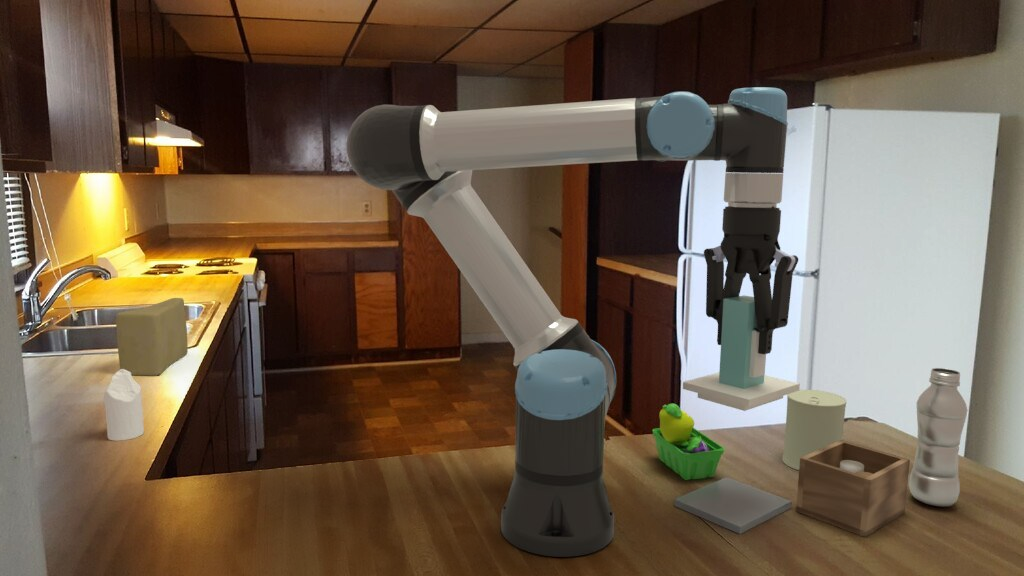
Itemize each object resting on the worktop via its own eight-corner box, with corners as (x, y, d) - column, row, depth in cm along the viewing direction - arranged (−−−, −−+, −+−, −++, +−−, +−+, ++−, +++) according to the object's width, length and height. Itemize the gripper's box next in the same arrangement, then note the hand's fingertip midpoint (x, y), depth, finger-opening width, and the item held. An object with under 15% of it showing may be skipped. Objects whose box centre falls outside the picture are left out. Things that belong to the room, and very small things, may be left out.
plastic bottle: (933, 514, 107) (947, 378, 104) (896, 495, 114) (909, 366, 111) (968, 509, 109) (984, 376, 106) (931, 490, 115) (944, 364, 112)
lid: (748, 415, 98) (754, 309, 96) (682, 397, 106) (687, 298, 104) (798, 398, 106) (805, 299, 104) (733, 382, 114) (739, 290, 112)
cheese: (166, 353, 194) (163, 296, 192) (203, 354, 194) (200, 296, 191) (117, 375, 172) (113, 311, 170) (158, 377, 172) (155, 312, 170)
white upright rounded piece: (109, 376, 128) (96, 370, 132) (114, 443, 130) (101, 435, 133) (145, 369, 132) (132, 364, 136) (149, 434, 134) (136, 427, 138)
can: (778, 467, 124) (783, 397, 122) (786, 449, 132) (791, 383, 130) (838, 478, 119) (844, 406, 118) (843, 459, 128) (849, 391, 126)
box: (865, 537, 100) (870, 480, 99) (795, 511, 107) (800, 457, 106) (904, 512, 108) (909, 459, 106) (837, 489, 115) (841, 439, 114)
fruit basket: (725, 479, 118) (729, 411, 117) (675, 485, 116) (678, 415, 114) (689, 453, 129) (692, 390, 128) (642, 458, 127) (645, 393, 125)
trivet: (739, 534, 100) (740, 527, 100) (673, 505, 109) (674, 499, 108) (791, 507, 109) (791, 501, 108) (726, 483, 117) (726, 477, 117)
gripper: (826, 207, 98) (812, 381, 101) (715, 202, 111) (707, 356, 114) (795, 208, 93) (783, 390, 97) (684, 203, 106) (676, 364, 110)
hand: (742, 371), depth 106 cm, fingers closed on lid, 4 cm apart
